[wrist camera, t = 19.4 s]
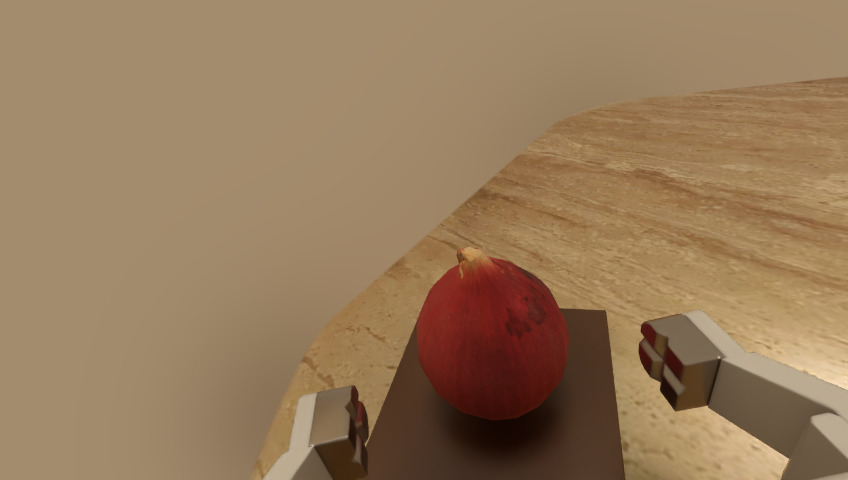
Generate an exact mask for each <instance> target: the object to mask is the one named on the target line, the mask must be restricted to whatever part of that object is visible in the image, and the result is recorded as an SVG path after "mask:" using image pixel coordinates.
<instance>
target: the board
mask: <svg viewBox="0 0 848 480" xmlns="http://www.w3.org/2000/svg"><path fill="white" fill-rule="evenodd" d="M559 309H560V311H561V313H562V315H563V317H564V319H565V321H566V324H567V328H568V333H569V337H570V339H569V346H568V352H567V359H566V364H565V369H564V374H563V379H562V380H561V381H560V383H559V384H558V385H557V386H556V388H555V389H554V390H553V391H552V393H551V394H550V395H549V396H548V398H547V399H546V400H545V401H544V402H543V403H542V404H541V405H540V406H539V407H537V408H535V409H533V410H531V411H529V412H527V413H525V414H524V415H522V416H520V417H518V418H512V419H502V420H493V421H492V420H489V419H485V418H481V417H477V416H474V415H470V414H466V413H463V412H461V411H459V410H458V409H457V408H455V407H454V406H452V405H451V404H450V403H448V402H447V401H446V400H444V399H443V398H441V397H440V396H439V395H438V394H437V392H436V391H435V389H434V387H433V386H432V384H431V382H430V381H429V379H428V377H427V376H426V374H425V372H424V370H423V368H422V366H421V365H420V363H419V357H418V343H417V327H416V326H417V322H418V320H417V322H416V325H415V327H414V330H413V332H412V334H411V337H410V339H409V342H408V344H407V347H406V349H405V352H404V354H403V357H402V359H401V362H400V364H399V367H398V369H397V372H396V374H395V377H394V379H393V382H392V384H391V387H390V389H389V392H388V394H387V397H386V399H385V401H384V404H383V406H382V409H381V411H380V414H379V416H378V419H377V421H376V424H375V426H374V429H373V431H372V434H371V436H370V439H369V441H368V444H367V446H366V449H367V451H368V477H367V478H363V479H359V480H625V472H624V464H623V455H622V446H621V437H620V429H619V420H618V411H617V402H616V394H615V385H614V376H613V367H612V359H611V350H610V341H609V332H608V324H607V315H606V311H605V310H585V309H564V308H559ZM418 318H419V317H418Z"/></svg>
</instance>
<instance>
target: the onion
mask: <svg viewBox="0 0 848 480" xmlns="http://www.w3.org/2000/svg"><path fill="white" fill-rule="evenodd" d="M457 258H458V260H459V265H457V266H455V267H453V268H451V269H450V270H448V271H447V272H446V273H445V274H444V275H443V276H442V277H441V278H440V279H439V280H438V281H437V282H436V283H435V284H434V286H433V287H432V288H431V290H430V291H429V293H428V296H427V298H426V300H425V302H424V305H423V307H422V309H421V312H420V314H419V318H418V322H417V326H416V327H417V343H418V357H419V363H420V365H421V366H422V368H423V370H424V372H425V374H426V376H427V377H428V379H429V381H430V382H431V384H432V386H433V387H434V389H435V391H436V392H437V394H438V395H439V396H440V397H441V398H443V399H444V400H446V401H447V402H448V403H450V404H451V405H452V406H454V407H455V408H457V409H458V410H459V411H461V412H463V413H466V414H470V415H474V416H477V417H481V418H485V419H489V420H492V421H493V420H502V419H512V418H518V417H520V416H522V415H524V414H525V413H527V412H529V411H531V410H533V409H535V408H537V407H539V406H540V405H541V404H542V403H543V402H544V401H545V400H546V399H547V398H548V396H549V395H550V394H551V393H552V391H553V390H554V389H555V388H556V386H557V385H558V384H559V383H560V381H561V380H562V379H563V374H564V369H565V364H566V359H567V352H568V346H569V339H570V337H569V333H568V328H567V324H566V321H565V319H564V317H563V315H562V313H561V311H560V309H559V307H558V305H557V303H556V301H555V299H554V297H553V295H552V293H551V291H550V290H549V288H548V287H547V286H546V285H545V284H544V283H543V282H542V281H541V280H540V279H538V278H537V277H536V276H534V275H533V274H531V273H529V272H527V271H526V270H524V269H522V268H520V267H518V266H516V265H515V264H513V263H511V262H509V261H505V260H502V259H495V258H492V257H489V256H486V255H485V254H484V253H483V252H482V251H481V250H479V249H477V248H473V247H467V248H463V249H461V250H459V251H458V252H457Z"/></svg>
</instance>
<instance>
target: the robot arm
mask: <svg viewBox="0 0 848 480" xmlns="http://www.w3.org/2000/svg"><path fill="white" fill-rule="evenodd" d="M641 333H642V334H643V336H644V338H643V340H642V341H641V342H640V343H639V356H640V360H641V363H642V365H643V367H644V369H645V370H646V372H647V373H648V375H649V376H650V377H651V378H653V379H655V380H657V381H659V382H661V385H660V391H661V393H662V394H663V395H664V397H665V398H666V399H667V401H668V402H669V403H670V405H671V406H672V408H673V409H674V410H675V412H676V411H681V410H687V409H692V408H698V407H703V406H708V408H710V409H711V410H713V411H715V412H716V413H718V414H719V415H721V416H722V417H724V418H726V419H727V420H729V421H730V422H732V423H733V424H735V425H737V426H738V427H740V428H741V429H743V430H745V431H746V432H748V433H749V434H751V435H752V436H754V437H756V438H757V439H759V440H760V441H762V442H764V443H765V444H767V445H768V446H770V447H771V448H773V449H775V450H776V451H778V452H779V453H781V454H782V455H784V456H786V457H787V458H789V461H788V463H787V465H786V467H785V469H784V471H783V473H782V478H781V480H848V390H846V389H844V388H841V387H839V386H836V385H834V384H831V383H829V382H826V381H824V380H822V379H819V378H817V377H814V376H812V375H809V374H807V373H804V372H802V371H799V370H797V369H795V368H792V367H790V366H787V365H785V364H782V363H780V362H777V361H775V360H772V359H770V358H768V357H765V356H763V355H760V354H758V353H755V352H750V353H748V352H746V351H745V350H744V349H743V348H742V347H741V346H740V345H739V344H738V343H737V342H736V341H735V340H734V339H733V338H732V337H731V336H729V335H728V334H727V333H726V332H725V331H724V330H723V329H722V328H721V327H720V326H719V325H718V324H717V323H716V322H715V321H714V320H713V319H711V318H710V317H709V316H708V315H707V314H706V313H705V312H704V311H701V310H695V311H690V312H686V313H681V314H675V315H671V316H667V317H662V318H658V319H654V320H649V321H645V322H644V323H643V324H642V325H641ZM368 437H369V427H368V419H367V414H366V410H365V407H364V405H363V403H362V402H360V401H358V391H357V389H356V387H355V386H348V387H343V388H337V389H332V390H327V391H322V392H317V393H312V394H307V395H302V396H301V397H300V398H299V400H298V402H297V408H296V413H295V418H294V423H293V428H292V433H291V438H290V443H289V448H288V452H286V453H282V455H281V456H280V457H279V458H278V460H277V461H276V462H275V464H274V465H273V466H272V468H271V469H270V470H269V471H268V473H267V474H266V475H265V477H264V478H263V479H262V480H359V479H363V478H367V477H368V451H367V449H366V447H365V445H364V444H365V442H366V441H367V439H368Z"/></svg>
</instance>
